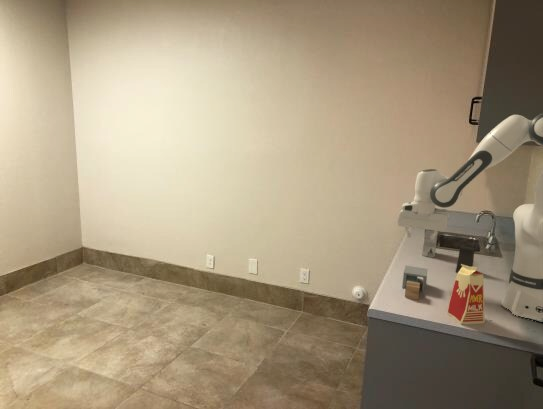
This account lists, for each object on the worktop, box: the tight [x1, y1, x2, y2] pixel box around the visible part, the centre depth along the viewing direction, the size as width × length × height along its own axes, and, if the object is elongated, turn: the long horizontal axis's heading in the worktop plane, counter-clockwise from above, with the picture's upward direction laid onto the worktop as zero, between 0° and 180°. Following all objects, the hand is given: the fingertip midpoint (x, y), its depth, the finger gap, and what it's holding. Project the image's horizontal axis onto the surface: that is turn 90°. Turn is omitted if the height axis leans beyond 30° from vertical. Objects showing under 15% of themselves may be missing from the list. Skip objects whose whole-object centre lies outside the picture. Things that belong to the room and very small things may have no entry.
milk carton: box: [446, 264, 486, 325], centre depth 138 cm, size 9×9×20 cm
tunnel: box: [401, 264, 428, 293], centre depth 165 cm, size 9×9×7 cm
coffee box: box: [421, 229, 439, 258], centre depth 205 cm, size 9×6×16 cm
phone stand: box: [455, 244, 476, 274], centre depth 183 cm, size 9×6×12 cm, turn 146°
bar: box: [407, 275, 418, 283], centre depth 166 cm, size 18×4×4 cm, turn 159°
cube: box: [404, 281, 421, 300], centre depth 155 cm, size 5×5×5 cm
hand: (420, 238), depth 169 cm, fingers open, 8 cm apart
